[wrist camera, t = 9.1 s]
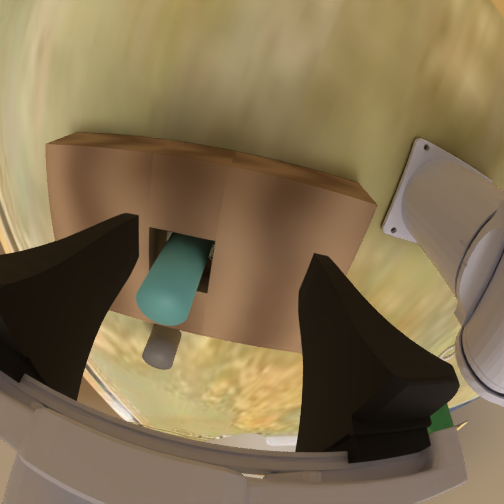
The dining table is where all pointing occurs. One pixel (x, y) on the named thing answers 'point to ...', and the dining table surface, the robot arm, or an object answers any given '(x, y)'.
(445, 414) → the beverage can
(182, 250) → the teal pin
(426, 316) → the dining table surface
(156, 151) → the walnut hole block
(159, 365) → the charcoal stub
